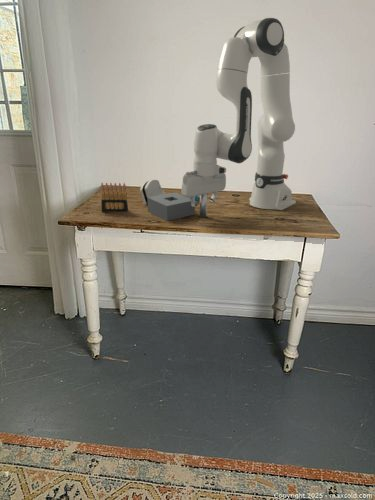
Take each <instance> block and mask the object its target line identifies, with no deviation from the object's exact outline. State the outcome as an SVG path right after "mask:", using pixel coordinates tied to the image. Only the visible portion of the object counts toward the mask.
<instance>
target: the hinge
mask: <svg viewBox="0 0 375 500" xmlns="http://www.w3.org/2000/svg"><path fill="white" fill-rule="evenodd" d="M139 191H140V195H141V198H142V202H143V205H144V206H147V205H148V201H147V197H153V196H158V195H163V194H167V193H166V192H165V191H163V188H162V187H161V184H160V181H159V180H158V179H150V180H148V181H145V182H144V183H143V184H142V185H141V186H140V189H139Z"/></svg>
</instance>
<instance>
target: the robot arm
mask: <svg viewBox="0 0 375 500" xmlns="http://www.w3.org/2000/svg"><path fill="white" fill-rule="evenodd" d="M252 58H258V59H259V62H260V63H259V64H260V100H261V103H262V108H263V115H261V116H260V118H259V119H258V121H257V146H258V147H257V148H258V149H257V150H258V157H257V167H256V172H255V175H254V181H255V182H254V183H253V186H252V189H251V195H250V197H249V199H248V200H249V205H250V206H252V207H254V208H258V209H263V210H277V211H278V210H279V211H283V210H285V209H287V208H289V207H291V206H293V205H296V204H297V201H296V200H295V199H294V198H293V199H292V195H293V194H292V190H291V188H290V187H289V186H288V185H286V183H285V180H288V178H289V175H288V174H285V173H283V172H284V164H285V159H286V157H285V148H284V142H287V141H290V139H291V138H292V137H293V136H294V134H295V132H296V125H295V124H296V123H295V122H294V119H293V117H294V116H293V110H292V109H293V108H292V104H291V95H290V89H291V88H290V87H291V86H290V84H291V83H290V82H291V81H290V79H291V74H290V72H291V70H290V69H291V68H290V67H291V65H290V55H289V49H288V46H287V44H286V43H285V29H284V27H283V25H282V22H281V21H280V20H279V19H278V18H274V17H266V18H265V17H264V18H263V19H259V20H256V21H255V20H254V21H253V22H251V23H250V24H247V25H245V26H241V28H239V29H238V30H237V31H236V32H235V34H234V36H233V37H231V38H228V39H227V40H225V42H224V44H223V47H222V49H221V53H220V56H219V61H218V66H217V74H216V80H215V81H216V82H215V85H216V89H217V91H218V92H219V94H220V95H221V96H222V98H225V99H226V100H228V101H230V102H231V103H232V104H233V105H234V106H235V110H236V124H235V125H236V127H235V134H232V133H228V132H227V133H226V132H223V131H221V130H219V128H218V127H217V125H216V124H211V123H208V124H202V125H199V126H198V127H197V128H196V129H195V130H196V131H195V134H194V142H193V152H194V158H193V168H192V171H187V172H185V173H184V174H183V176H182V184H181V191H180V192H181V195H183V196H185V197H188V198H190V200H191V205H192V206H193V207H195V208H196V207H197V206H198V201H195V200H194V199H195V196H197V195H198V196H200V195H202V194H207V193H208V194H211V197H209V203H211V204H213V203H215V202H216V198H217V196H218V194H219V192H221V191H225V188H226V184H227V176H226V172H227V168H226V167H225V166H221V165H219V164H218V163H217V162H218V160H217V159H220V160H225V161H229V162H232V163H236V164H242V163H243V162H245V161H247V160H248V159H249V157H250V156H251V154H252V151H253V150H252V149H253V144H252V112H253V111H252V110H253V108H252V107H253V95H252V91H251V89H250V88H249V87H248V72H249V64H250V61H251V59H252Z"/></svg>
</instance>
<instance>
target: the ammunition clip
mask: <svg viewBox="0 0 375 500" xmlns="http://www.w3.org/2000/svg"><path fill="white" fill-rule="evenodd" d="M100 196H101V197H100V199H101V203H100V204H101V212H102V213H103V212H104V213H106V212H107V213H112V212H113V213H114V212H115V213H117V212H118V213H128V212H129V206H128V194H127V187H126V184H125V182H123V185H122V184H121V183H120V182H119V183H118V187H117V183H116V182H114V185H113V184H112V182H109V184H108V183H107V182H106V183H105V185H104V183H103V182H101V184H100Z"/></svg>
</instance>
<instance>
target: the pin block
mask: <svg viewBox="0 0 375 500" xmlns="http://www.w3.org/2000/svg"><path fill="white" fill-rule="evenodd" d="M147 201H148V204H147V212H148V213H150V214H152V215H155V216H157V217H158V218H159V219H163V220H164V221H168V222H169V221H173V220H175V219H176V220H177V219H180V218H184V217H188V216H193V215H196V206H195V207H193V206H192V205H191V200H190V198H189V197H185V196H183V195H182V194H180V193H178V192H176V191H175V192H169V193H166V194H163V195H158V196H153V197H147Z"/></svg>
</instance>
